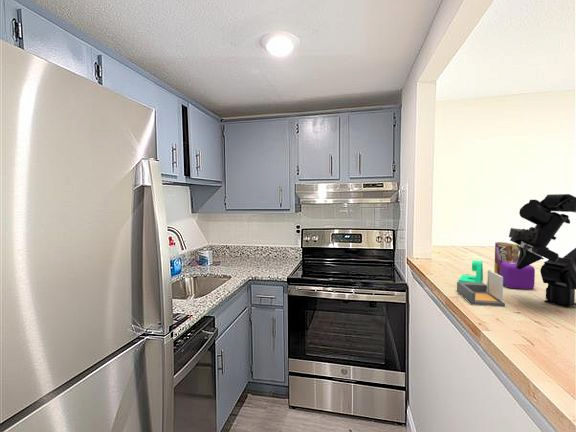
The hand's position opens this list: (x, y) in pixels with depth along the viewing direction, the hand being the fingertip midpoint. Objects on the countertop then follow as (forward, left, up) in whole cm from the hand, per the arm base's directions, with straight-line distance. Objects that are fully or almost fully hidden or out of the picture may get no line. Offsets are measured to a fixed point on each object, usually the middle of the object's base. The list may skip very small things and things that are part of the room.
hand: (517, 268), depth 107 cm
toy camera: (+12, -21, -12) cm, 27 cm away
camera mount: (+22, -8, -12) cm, 26 cm away
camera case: (+9, +8, -12) cm, 16 cm away
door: (+4, +5, -10) cm, 12 cm away
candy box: (+23, -35, -12) cm, 44 cm away
